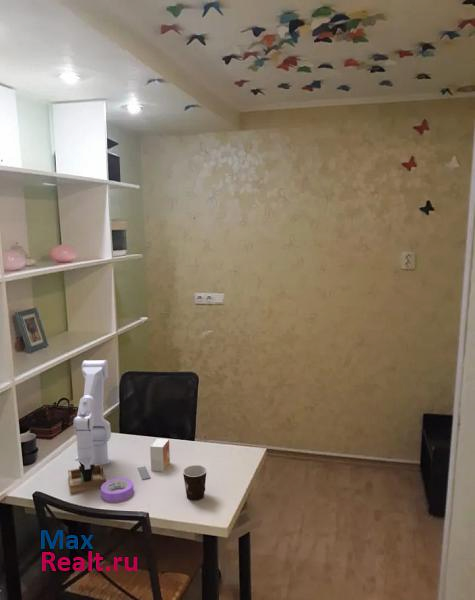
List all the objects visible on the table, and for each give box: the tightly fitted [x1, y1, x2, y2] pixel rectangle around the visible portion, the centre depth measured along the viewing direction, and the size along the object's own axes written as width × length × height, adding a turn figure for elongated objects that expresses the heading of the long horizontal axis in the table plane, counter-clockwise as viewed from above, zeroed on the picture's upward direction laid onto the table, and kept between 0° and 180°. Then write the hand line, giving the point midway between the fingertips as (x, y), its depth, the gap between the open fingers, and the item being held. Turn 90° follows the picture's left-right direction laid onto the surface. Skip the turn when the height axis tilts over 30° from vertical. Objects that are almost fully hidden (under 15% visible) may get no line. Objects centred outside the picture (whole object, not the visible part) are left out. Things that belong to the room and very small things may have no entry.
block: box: [81, 464, 93, 482], centre depth 186 cm, size 4×4×6 cm
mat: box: [136, 466, 151, 481], centre depth 192 cm, size 10×10×1 cm
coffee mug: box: [182, 464, 207, 502], centre depth 174 cm, size 12×9×10 cm
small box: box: [149, 438, 171, 472], centre depth 199 cm, size 8×6×10 cm
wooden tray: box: [67, 464, 107, 495], centre depth 187 cm, size 13×13×4 cm
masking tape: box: [100, 477, 134, 503], centre depth 178 cm, size 12×12×4 cm
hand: (86, 478), depth 187 cm, fingers open, 6 cm apart
